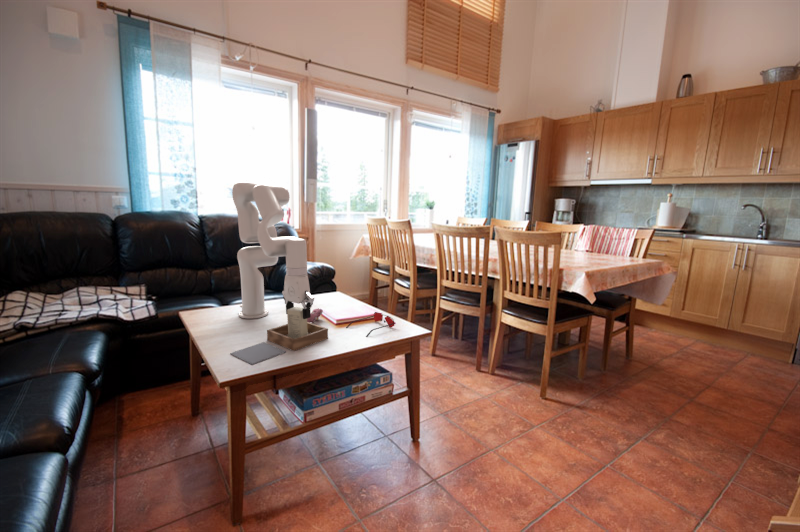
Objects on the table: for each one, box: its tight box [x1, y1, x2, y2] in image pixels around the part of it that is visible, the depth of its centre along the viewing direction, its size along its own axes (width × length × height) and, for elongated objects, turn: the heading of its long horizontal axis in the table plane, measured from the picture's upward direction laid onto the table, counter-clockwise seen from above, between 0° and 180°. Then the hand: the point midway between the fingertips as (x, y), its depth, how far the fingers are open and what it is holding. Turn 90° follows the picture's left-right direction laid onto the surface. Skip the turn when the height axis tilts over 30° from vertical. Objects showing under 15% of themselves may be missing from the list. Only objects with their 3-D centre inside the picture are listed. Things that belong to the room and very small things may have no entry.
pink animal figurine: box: [307, 308, 324, 324], centre depth 160 cm, size 10×5×7 cm, turn 168°
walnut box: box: [266, 322, 329, 352], centre depth 140 cm, size 16×16×4 cm
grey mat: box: [230, 341, 286, 366], centre depth 126 cm, size 13×13×1 cm
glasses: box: [345, 311, 397, 338], centre depth 154 cm, size 14×16×5 cm
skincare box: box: [286, 306, 309, 339], centre depth 139 cm, size 6×4×12 cm
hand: (298, 315), depth 138 cm, fingers open, 9 cm apart
